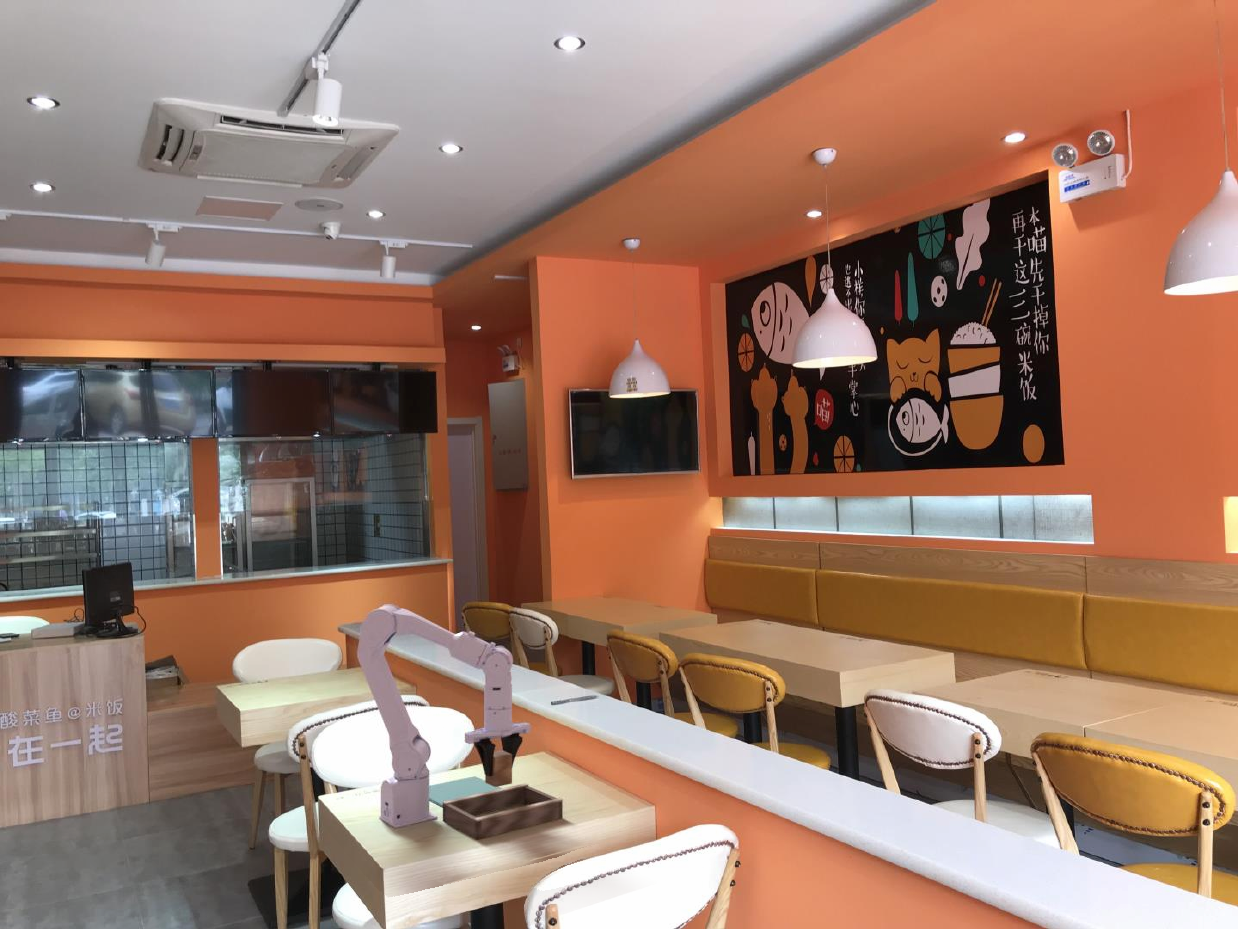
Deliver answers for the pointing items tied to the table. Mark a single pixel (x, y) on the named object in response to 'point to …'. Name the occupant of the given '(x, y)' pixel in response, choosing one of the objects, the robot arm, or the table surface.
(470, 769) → the table surface
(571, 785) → the table surface
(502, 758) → the walnut block
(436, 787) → the mat
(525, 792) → the frame
